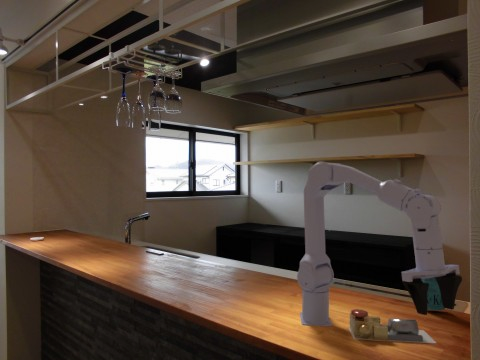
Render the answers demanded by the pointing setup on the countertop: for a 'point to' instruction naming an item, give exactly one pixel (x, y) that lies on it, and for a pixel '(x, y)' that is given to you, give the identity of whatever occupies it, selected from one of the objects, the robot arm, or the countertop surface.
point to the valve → (367, 326)
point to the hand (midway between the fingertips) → (435, 311)
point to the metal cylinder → (403, 326)
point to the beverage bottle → (433, 295)
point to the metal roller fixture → (404, 337)
